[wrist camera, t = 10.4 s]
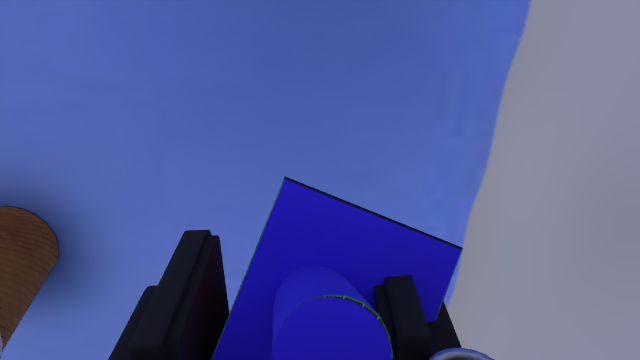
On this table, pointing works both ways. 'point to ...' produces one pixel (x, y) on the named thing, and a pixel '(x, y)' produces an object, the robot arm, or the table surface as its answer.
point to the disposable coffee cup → (22, 265)
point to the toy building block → (328, 280)
